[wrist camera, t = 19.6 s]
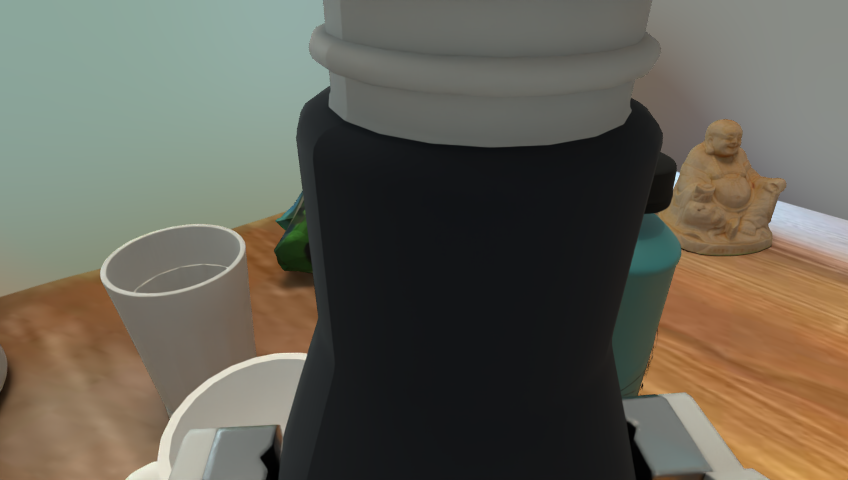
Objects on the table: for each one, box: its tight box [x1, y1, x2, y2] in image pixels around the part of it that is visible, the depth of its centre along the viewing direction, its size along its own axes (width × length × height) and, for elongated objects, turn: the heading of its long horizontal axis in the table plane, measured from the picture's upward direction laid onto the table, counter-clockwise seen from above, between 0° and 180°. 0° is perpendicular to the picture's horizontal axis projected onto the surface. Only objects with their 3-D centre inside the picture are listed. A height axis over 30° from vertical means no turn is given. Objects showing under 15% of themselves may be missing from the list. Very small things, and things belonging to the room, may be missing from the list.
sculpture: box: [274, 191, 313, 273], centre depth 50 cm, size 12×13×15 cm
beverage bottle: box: [612, 152, 681, 397], centre depth 29 cm, size 6×7×20 cm
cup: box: [100, 224, 256, 418], centre depth 34 cm, size 8×8×12 cm
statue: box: [657, 119, 786, 255], centre depth 57 cm, size 12×14×10 cm
